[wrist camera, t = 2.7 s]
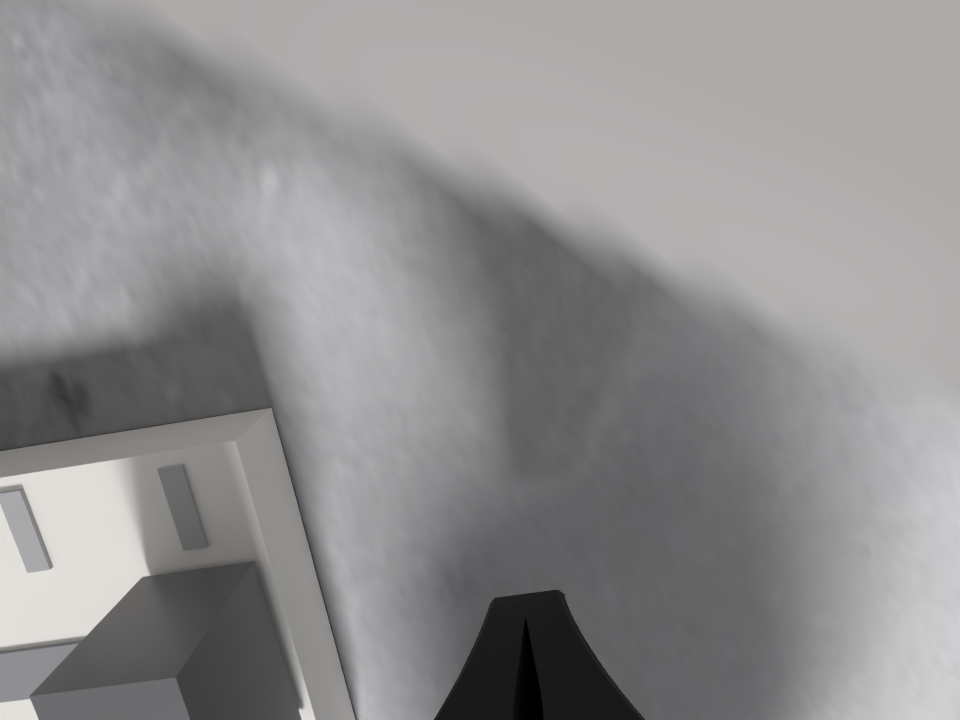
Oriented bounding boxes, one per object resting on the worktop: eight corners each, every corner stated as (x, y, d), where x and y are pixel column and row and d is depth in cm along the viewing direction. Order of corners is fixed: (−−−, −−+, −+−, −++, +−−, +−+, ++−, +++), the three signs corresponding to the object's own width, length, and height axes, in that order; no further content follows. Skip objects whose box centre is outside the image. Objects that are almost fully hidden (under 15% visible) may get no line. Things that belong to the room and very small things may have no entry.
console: (358, 733, 16) (339, 809, 14) (15, 773, 17) (-51, 851, 15) (271, 408, 14) (233, 442, 12) (-118, 470, 15) (-216, 513, 13)
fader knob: (302, 723, 14) (244, 877, 11) (197, 736, 14) (109, 890, 11) (254, 560, 13) (175, 677, 10) (142, 576, 13) (29, 696, 10)
